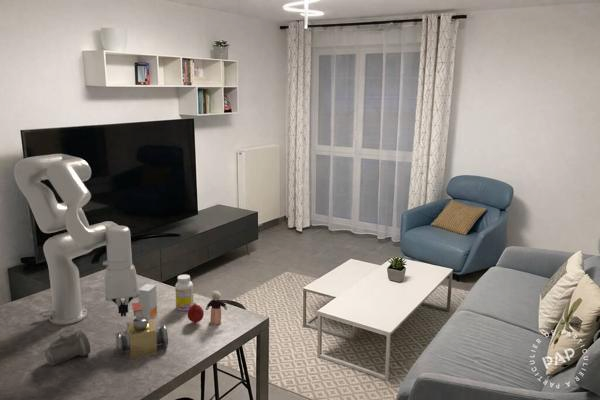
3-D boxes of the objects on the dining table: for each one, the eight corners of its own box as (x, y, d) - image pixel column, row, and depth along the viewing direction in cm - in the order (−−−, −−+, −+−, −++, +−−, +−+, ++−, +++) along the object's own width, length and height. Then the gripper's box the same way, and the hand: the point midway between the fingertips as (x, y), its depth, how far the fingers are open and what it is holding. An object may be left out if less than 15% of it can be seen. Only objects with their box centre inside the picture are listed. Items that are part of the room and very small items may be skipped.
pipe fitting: (84, 344, 158) (78, 318, 154) (93, 356, 152) (88, 330, 149) (45, 361, 150) (38, 334, 146) (53, 375, 145) (47, 347, 141)
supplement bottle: (182, 302, 191) (181, 272, 188) (197, 305, 189) (196, 275, 186) (172, 309, 185) (171, 278, 182) (187, 312, 183) (186, 281, 180)
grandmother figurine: (206, 326, 173) (205, 294, 170) (205, 321, 176) (205, 289, 173) (227, 325, 174) (227, 292, 171) (227, 320, 178) (226, 288, 175)
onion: (206, 321, 177) (206, 301, 175) (198, 328, 171) (198, 307, 170) (193, 318, 179) (192, 298, 177) (184, 325, 173) (183, 304, 171)
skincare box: (149, 321, 175) (148, 291, 172) (139, 320, 176) (137, 290, 173) (157, 314, 181) (156, 284, 178) (147, 312, 182) (146, 283, 179)
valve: (118, 360, 150) (116, 337, 148) (116, 348, 157) (114, 325, 156) (168, 350, 157) (167, 328, 155) (164, 338, 164) (163, 317, 162)
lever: (149, 328, 154) (149, 321, 154) (134, 330, 152) (134, 324, 152) (143, 307, 168) (142, 301, 167) (129, 309, 166) (128, 303, 166)
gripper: (94, 269, 152) (98, 322, 156) (143, 265, 157) (146, 317, 161) (96, 261, 159) (100, 312, 163) (144, 257, 164) (146, 307, 168)
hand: (123, 314), depth 162 cm, fingers closed
